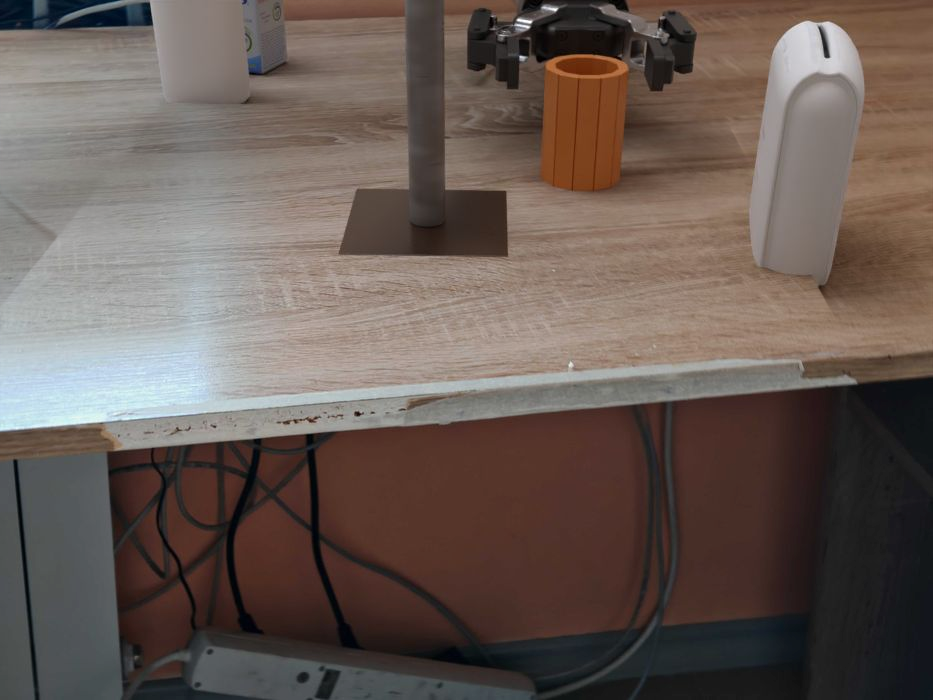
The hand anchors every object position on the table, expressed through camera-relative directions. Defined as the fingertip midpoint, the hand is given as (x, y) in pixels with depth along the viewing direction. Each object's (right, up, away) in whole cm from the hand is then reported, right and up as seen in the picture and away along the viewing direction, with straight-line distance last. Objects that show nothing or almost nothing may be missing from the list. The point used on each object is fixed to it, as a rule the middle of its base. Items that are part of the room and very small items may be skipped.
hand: (586, 74), depth 63 cm
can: (-27, +3, +19) cm, 33 cm away
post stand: (-9, -10, -2) cm, 14 cm away
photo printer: (+11, -11, -3) cm, 16 cm away
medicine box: (-26, +8, +28) cm, 39 cm away
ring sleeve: (0, -6, +4) cm, 8 cm away
